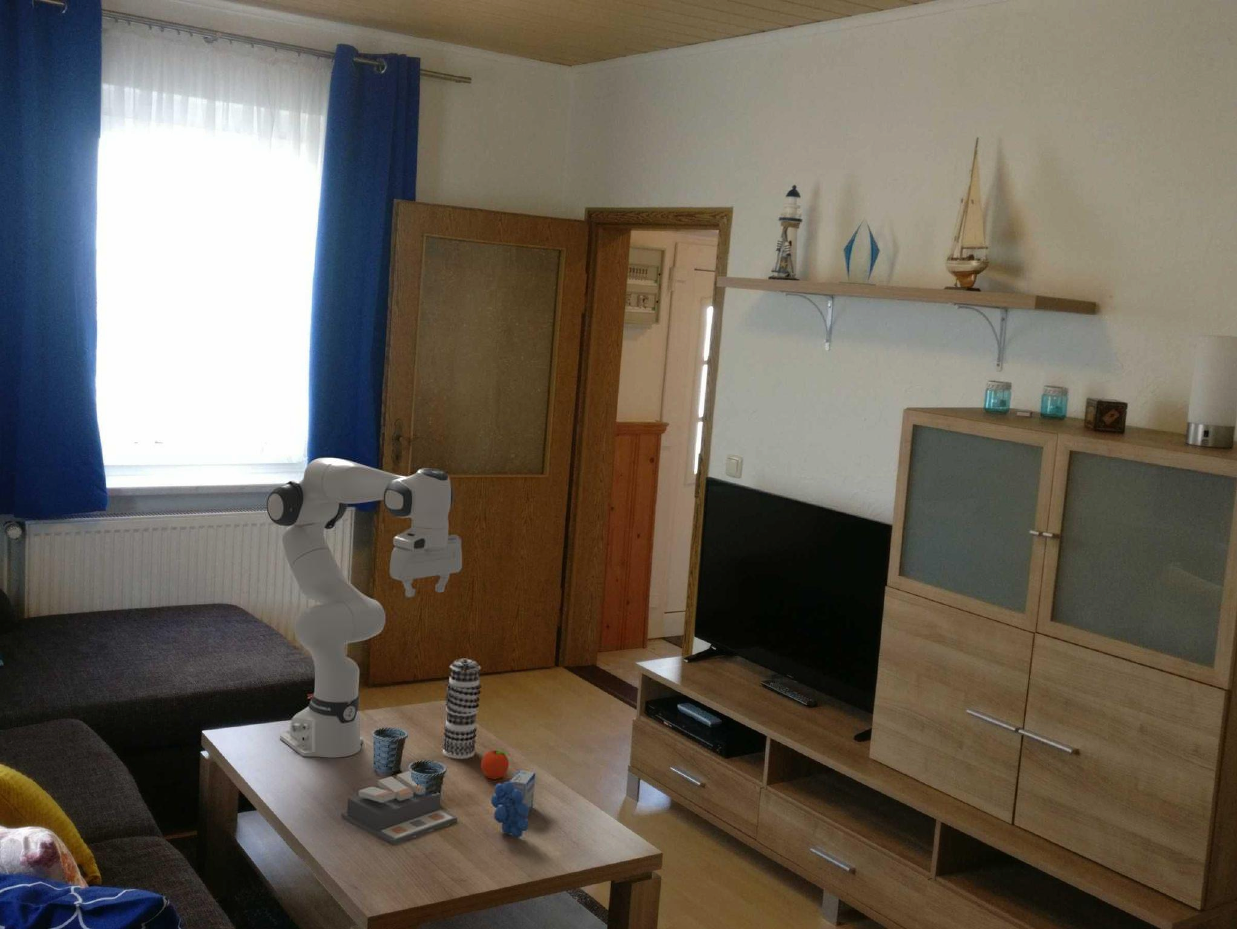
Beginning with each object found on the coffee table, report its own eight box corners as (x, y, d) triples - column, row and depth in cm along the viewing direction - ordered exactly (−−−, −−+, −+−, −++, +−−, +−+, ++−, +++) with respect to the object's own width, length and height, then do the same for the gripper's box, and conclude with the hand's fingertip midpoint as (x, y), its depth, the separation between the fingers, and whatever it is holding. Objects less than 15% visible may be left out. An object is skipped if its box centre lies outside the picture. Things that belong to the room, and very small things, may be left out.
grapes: (476, 830, 275) (480, 779, 274) (498, 822, 280) (502, 772, 279) (512, 848, 268) (516, 796, 266) (533, 840, 273) (538, 789, 271)
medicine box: (524, 819, 283) (527, 784, 282) (505, 816, 284) (508, 781, 283) (533, 806, 291) (536, 772, 290) (515, 803, 292) (518, 769, 291)
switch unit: (340, 817, 275) (342, 796, 275) (405, 796, 290) (406, 776, 289) (392, 844, 264) (394, 823, 263) (457, 821, 279) (458, 800, 278)
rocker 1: (358, 795, 274) (358, 789, 274) (371, 791, 277) (371, 785, 277) (381, 802, 269) (381, 796, 269) (395, 798, 272) (394, 792, 272)
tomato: (508, 771, 311) (510, 745, 310) (514, 782, 305) (516, 755, 304) (477, 773, 309) (479, 746, 308) (483, 783, 302) (485, 756, 301)
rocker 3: (396, 779, 283) (397, 774, 282) (408, 775, 286) (409, 770, 285) (418, 794, 278) (419, 789, 278) (431, 790, 281) (432, 785, 281)
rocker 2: (377, 785, 278) (378, 779, 278) (390, 781, 281) (391, 775, 281) (400, 800, 274) (401, 795, 273) (412, 796, 277) (413, 791, 276)
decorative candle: (453, 761, 314) (460, 668, 311) (434, 750, 321) (441, 658, 318) (482, 755, 320) (490, 664, 317) (463, 744, 327) (470, 654, 324)
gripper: (452, 531, 299) (448, 586, 301) (387, 538, 283) (383, 596, 285) (470, 536, 295) (465, 591, 297) (405, 543, 279) (401, 602, 281)
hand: (425, 594), depth 291 cm, fingers open, 8 cm apart
